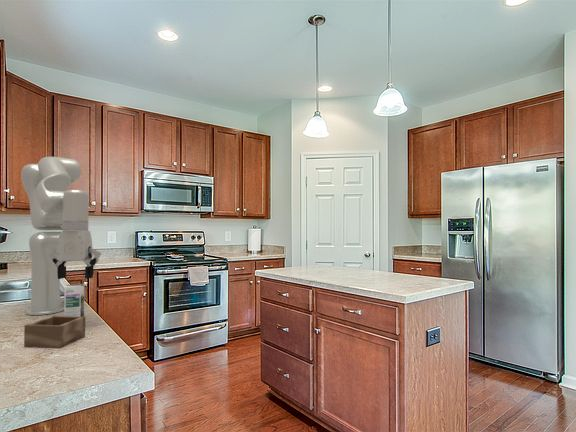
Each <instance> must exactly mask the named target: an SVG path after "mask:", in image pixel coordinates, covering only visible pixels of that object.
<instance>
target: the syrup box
mask: <svg viewBox="0 0 576 432" xmlns="http://www.w3.org/2000/svg"><path fill="white" fill-rule="evenodd" d="M63 291H64V293H63V294H64V295H63V296H64V297H63V298H64V302H63V303H64V305H63V306H64V310H63V311H64V314H63V316H71V317H85V283H75V284H65V286H64V290H63Z"/></svg>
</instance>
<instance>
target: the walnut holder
mask: <svg viewBox="0 0 576 432" xmlns="http://www.w3.org/2000/svg"><path fill="white" fill-rule="evenodd" d="M23 327H24V333H23V334H24V335H23V336H24V337H23V338H24V339H23V340H24V341H23V346H24V348H46V349H47V348H48V349H62V348H63V347H65V346H69V344H71V343H74V342H76V341H78V340H80V339H83V338H85V337H86V316H84V317H71V316H64V315H61V316H60V315H59V316H58V315H52V316H49V317H45V318H43V319H40V320H37V321H35V322H30V323H29V324H25V325H24V326H23Z"/></svg>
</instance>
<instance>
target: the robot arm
mask: <svg viewBox="0 0 576 432" xmlns="http://www.w3.org/2000/svg"><path fill="white" fill-rule="evenodd" d="M20 175H21V184H22V187H23V189H24V191H25V193H26V196H27V197H28V200H29V211H30V220H31V225H32V228H34V229H35V230H38V231H40V232H35V233H33V234H32V235H30V237H29V240H28V245H29V246H28V247H29V253H30V258H31V263H30V264H31V278H30V279H31V282H30V283H31V284H30V285H31V286H30V288H31V290H30V291H31V292H30V308H28V309H26V311H25V314H26V315H28V316H29V315H30V316H44V315H51V314H56V313H61V312H62V311H64V305H62V304H63V303H64V297H61V296H60V295H61V294H60V293H61V279H62V280H63V279H66V278H67V266H66V264H67V263H68V262H84V264H85V268H84V278H85V280H88V279H92V278H93V277H94V269H95V268H94V266H95V267H96V264H98V261H99V259H100V258H101V255H102V252H101V251H98V250H96V249H94V248H93V240H92V239H93V238H92V234H91V231H90V230H89V193H88V191H85V190H81V189H69V188H70V186H71V185H72V184H73V183H75V182H76V181H78V180H79V179H80V178H81V175H82V166H81V164H80V162H79V161H78V160H76V159H74V158H67V157H60V156H59V157H57V156H45V157H42V158H41V159H39V160H38V163H28V164H25V165H24V166H23V167H22V168H21V174H20Z"/></svg>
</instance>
